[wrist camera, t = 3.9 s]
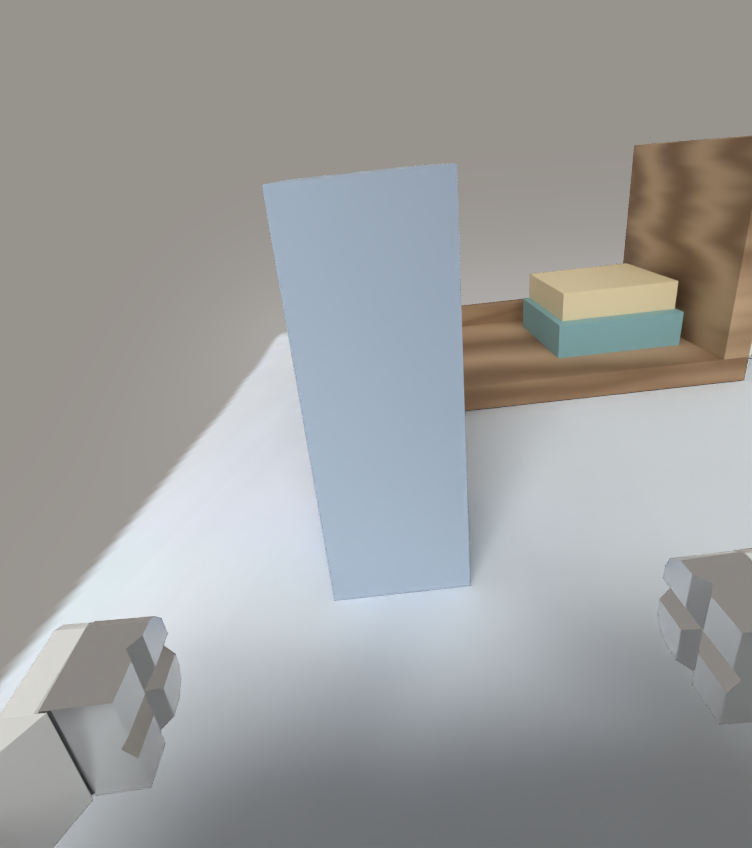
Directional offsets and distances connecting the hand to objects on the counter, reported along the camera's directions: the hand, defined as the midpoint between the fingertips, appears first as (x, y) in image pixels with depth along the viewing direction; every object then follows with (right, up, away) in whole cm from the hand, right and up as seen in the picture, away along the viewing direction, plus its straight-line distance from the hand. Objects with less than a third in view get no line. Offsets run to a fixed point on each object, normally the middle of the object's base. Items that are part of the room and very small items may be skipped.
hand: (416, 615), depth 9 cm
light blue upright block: (0, -2, +14) cm, 14 cm away
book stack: (+15, +10, +31) cm, 35 cm away
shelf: (+9, +7, +31) cm, 33 cm away
